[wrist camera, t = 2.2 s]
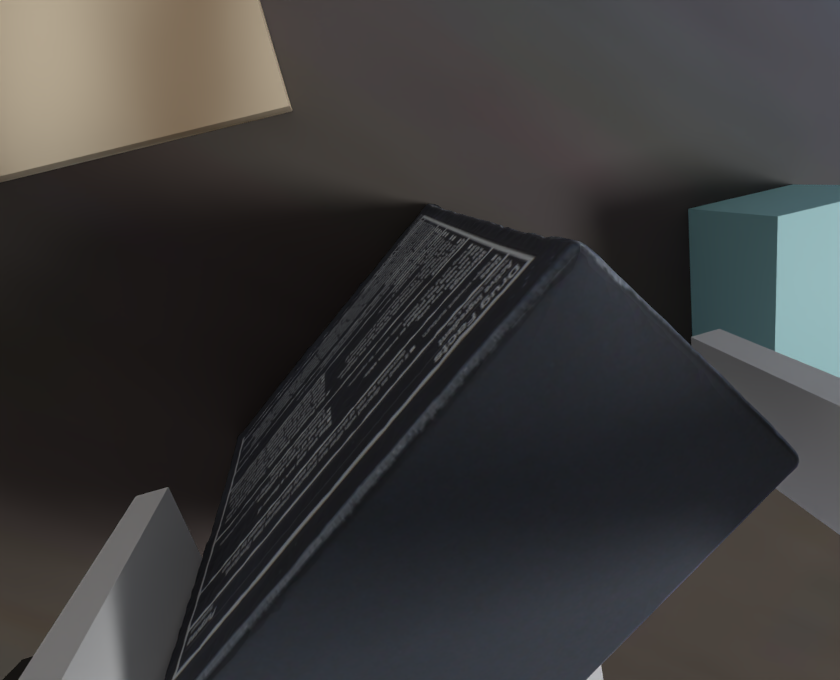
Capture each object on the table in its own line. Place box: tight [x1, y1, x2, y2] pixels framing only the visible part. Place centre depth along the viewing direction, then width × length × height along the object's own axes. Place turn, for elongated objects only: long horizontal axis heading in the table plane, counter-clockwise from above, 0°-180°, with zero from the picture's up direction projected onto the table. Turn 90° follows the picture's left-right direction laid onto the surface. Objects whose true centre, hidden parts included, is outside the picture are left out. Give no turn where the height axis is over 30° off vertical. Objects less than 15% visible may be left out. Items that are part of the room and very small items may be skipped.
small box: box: [164, 204, 800, 680], centre depth 13 cm, size 11×6×10 cm, turn 140°
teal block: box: [688, 184, 840, 378], centre depth 17 cm, size 4×6×4 cm, turn 12°
